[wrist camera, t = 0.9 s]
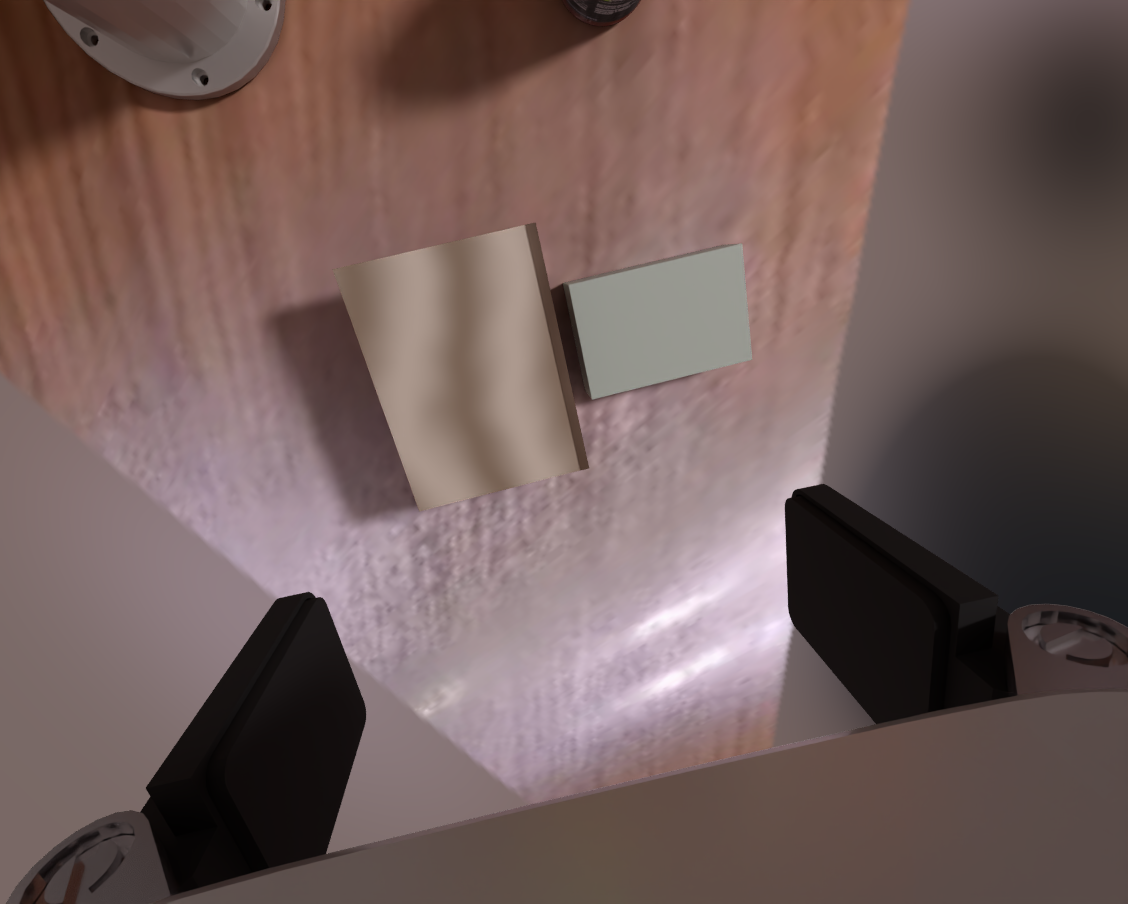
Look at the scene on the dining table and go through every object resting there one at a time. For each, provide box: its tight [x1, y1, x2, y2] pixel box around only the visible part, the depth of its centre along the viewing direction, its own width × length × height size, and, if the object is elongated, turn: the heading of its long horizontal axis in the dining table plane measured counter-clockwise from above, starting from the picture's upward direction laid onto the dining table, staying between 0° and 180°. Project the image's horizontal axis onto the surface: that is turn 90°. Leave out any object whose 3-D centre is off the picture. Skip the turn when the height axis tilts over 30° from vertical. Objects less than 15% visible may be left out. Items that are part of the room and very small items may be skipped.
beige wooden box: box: [333, 223, 589, 511], centre depth 36 cm, size 12×16×6 cm
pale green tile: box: [563, 244, 752, 399], centre depth 38 cm, size 8×12×3 cm, turn 103°
